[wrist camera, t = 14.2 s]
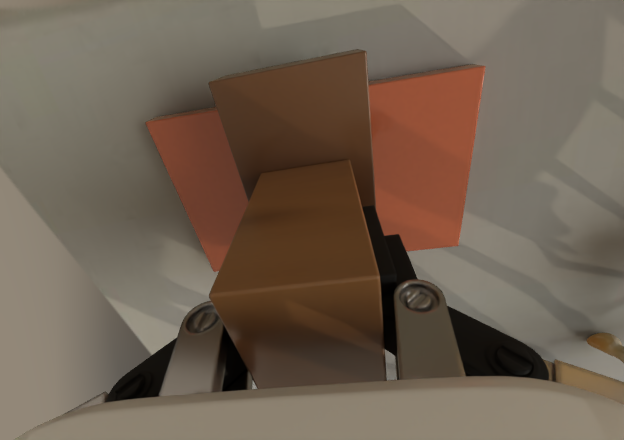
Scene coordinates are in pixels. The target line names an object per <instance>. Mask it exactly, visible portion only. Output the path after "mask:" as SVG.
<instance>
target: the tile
mask: <svg viewBox="0 0 624 440" xmlns="http://www.w3.org/2000/svg"><path fill="white" fill-rule="evenodd" d="M484 73H485V66H482V65H476V64H470V65H464V66H458V67H452V68H446V69H440V70H434V71H428V72H422V73H416V74H410V75H404V76H398V77H392V78H386V79H380V80H374V81H368V84H369V100H370V116H371V133H372V149H373V165H374V181H375V197H376V212H377V215H378V218H379V221H380V224H381V227H382V230H383V233H384V236H387V235H395V234H399V235H400V237H401V240H402V242H403V245H404V247H405V250H406V251H414V250H424V249H433V248H443V247H452V246H458V244H459V237H460V231H461V224H462V218H463V211H464V204H465V198H466V191H467V185H468V178H469V172H470V165H471V159H472V152H473V145H474V139H475V132H476V126H477V119H478V113H479V106H480V99H481V93H482V86H483V80H484ZM146 125H147V127H148V130H149V132H150V134H151V136H152V138H153V140H154V143H155V145H156V147H157V149H158V151H159V154H160V156H161V158H162V160H163V162H164V164H165V167H166V169H167V171H168V173H169V175H170V178H171V180H172V182H173V184H174V186H175V188H176V191H177V193H178V195H179V197H180V199H181V201H182V204H183V206H184V208H185V210H186V212H187V215H188V217H189V219H190V221H191V223H192V225H193V228H194V230H195V232H196V234H197V236H198V238H199V241H200V243H201V245H202V247H203V249H204V252H205V254H206V256H207V258H208V260H209V262H210V265H211V267H212V269H213V271H214V272H216V271H219V270H220V268H221V266H222V263H223V261H224V259H225V256H226V254H227V252H228V249H229V247H230V245H231V242H232V240H233V238H234V235H235V233H236V231H237V228H238V226H239V224H240V221H241V219H242V217H243V214H244V212H245V210H246V207H247V205H248V203H249V202H248V199H247V196H246V193H245V190H244V187H243V185H242V182H241V179H240V176H239V173H238V170H237V167H236V164H235V161H234V158H233V155H232V152H231V149H230V146H229V143H228V140H227V137H226V134H225V131H224V128H223V125H222V122H221V119H220V116H219V113H218V110H217V107H213V108H207V109H201V110H195V111H189V112H183V113H177V114H171V115H165V116H159V117H155V118H153V119H151V120H149V121H147V122H146Z"/></svg>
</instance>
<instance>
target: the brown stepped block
mask: <svg viewBox="0 0 624 440" xmlns="http://www.w3.org/2000/svg"><path fill="white" fill-rule="evenodd" d="M209 87H210V90H211V93H212V96H213V98H214V101H215V104H216V107H217V110H218V113H219V116H220V119H221V122H222V125H223V128H224V131H225V134H226V137H227V140H228V143H229V146H230V149H231V152H232V155H233V158H234V161H235V164H236V167H237V170H238V173H239V176H240V179H241V182H242V185H243V187H244V190H245V193H246V196H247V199H248V202H249V203H248V205H247V207H246V210H245V212H244V214H243V217H242V219H241V221H240V224H239V226H238V228H237V231H236V233H235V235H234V238H233V240H232V242H231V245H230V247H229V249H228V252H227V254H226V256H225V259H224V261H223V263H222V266H221V268H220V270H219V273H218V275H217V277H216V280H215V282H214V284H213V287H212V289H211V291H210V294H209V298H210V300H211V302H212V304H213V305H214V307H215V309H216V311H217V313H218V315H219V317H220V319H221V321H222V322H223V324H224V326H225V328H226V330H227V332H228V334H229V336H230V337H231V339H232V341H233V343H234V345H235V347H236V349H237V351H238V353H239V354H240V356H241V358H242V360H243V362H244V364H245V366H246V368H247V370H248V371H249V373H250V375H251V377H252V379H253V381H254V383H255V385H256V386H257V388H258V389H268V388H282V387H297V386H312V385H327V384H342V383H358V382H374V381H387V377H386V362H385V346H384V330H383V314H382V298H381V282H380V274H379V270H378V267H377V263H376V259H375V255H374V251H373V247H372V243H371V240H370V236H369V232H368V228H367V224H366V220H365V216H364V213H363V209H362V207H364V206H371V205H374V206H375V209H376V197H375V181H374V165H373V149H372V133H371V116H370V100H369V84H368V68H367V53H366V51H363V50H359V49H356V50H351V51H346V52H341V53H336V54H331V55H326V56H321V57H316V58H311V59H306V60H301V61H296V62H291V63H286V64H281V65H276V66H271V67H266V68H261V69H256V70H251V71H246V72H241V73H236V74H232V75H227V76H223V77H221V78H218V79H215V80H213V81H210V82H209Z"/></svg>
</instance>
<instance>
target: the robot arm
mask: <svg viewBox="0 0 624 440" xmlns="http://www.w3.org/2000/svg"><path fill="white" fill-rule="evenodd" d="M362 209H363V213H364V216H365V220H366V224H367V228H368V232H369V236H370V240H371V243H372V247H373V251H374V255H375V259H376V263H377V267H378V270H379V274H380V282H381V298H382V314H383V330H384V346H385V349H386V350H387V351H389V352H390V353H392V354H393V355H395V359H396V374H397V380H390V381H374V382H358V383H342V384H327V385H312V386H297V387H282V388H268V389H253V390H252V381H253V379H252V377H251V375H250V373H249V371H248V370H247V368H246V366H245V364H244V362H243V360H242V358H241V356H240V354H239V353H238V351H237V349H236V347H235V345H234V343H233V341H232V339H231V337H230V336H229V334H228V332H227V330H226V328H225V326H224V324H223V322H222V321H221V319H220V317H219V315H218V313H217V311H216V309H215V307H214V305H213V304H212V302H211V301H207V302H204V303H201V304H200V305H198V306H196V307H194V308H193V309H192V310H191V311H190V312H189V313H188V314H187V315H186V316H185V318H184V320H183V322H182V324H181V327H180V330H179V333H178V337H177V338H176V339H174V340H173V341H171V342H170V343H169V344H167V345H166V346H164V347H163V348H162V349H160V350H159V351H158V352H156V353H155V354H153V355H152V356H151V357H149V358H148V359H146V360H145V361H144V362H142V363H141V364H139V365H138V366H137V367H135V368H134V369H132V370H131V371H130V372H128V373H127V374H126V375H125V376H123V377H122V378H121V379H120V380H119V381H118V382H117V383H116V385H115V386H114V387H113V388H112V390H111V392H110V393H109V394H108V393H107V392H103V393H102V394H100V395H98V396H96V397H94V398H92V399H90V400H89V401H87V402H85V403H83V404H81V405H79V406H78V407H76V408H74V409H72V410H70V411H68V412H67V413H65V414H63V415H61V416H58V417H56V418H54V419H52V420H49V421H47V422H45V423H43V424H41V425H38V426H37V427H35V428H33V429H31V430H29V431H27V432H26V433H24V434H23V435H21V436H19V437H18V438H16V439H15V440H624V382H622V381H619V380H616V379H613V378H610V377H607V376H604V375H601V374H598V373H595V372H592V371H589V370H586V369H583V368H580V367H577V366H574V365H571V364H568V363H565V362H562V361H559V360H556V359H555V361H554V363H552V362H549V361H546V360H543V359H542V358H541V356H540V355H539V354H537V353H536V352H535V351H534V350H533V349H532V348H530V347H529V346H527V345H525V344H524V343H522V342H520V341H518V340H516V339H514V338H512V337H510V336H508V335H506V334H504V333H502V332H500V331H498V330H496V329H494V328H492V327H490V326H488V325H486V324H483V323H481V322H479V321H477V320H475V319H473V318H471V317H469V316H467V315H465V314H463V313H461V312H459V311H457V310H455V309H453V308H451V307H449V306H447V304H446V300H445V297H444V295H443V293H442V291H441V290H440V289H439V288H438V287H437V286H435V285H434V284H432V283H430V282H427V281H424V280H418V279H417V277H416V274H415V272H414V269H413V267H412V264H411V262H410V259H409V257H408V255H407V252H406V250H405V247H404V245H403V242H402V240H401V237H400V235H399V234H395V235H387V236H384V233H383V230H382V227H381V224H380V221H379V218H378V215H377V212H376V209H375V206H374V205H371V206H364V207H362Z"/></svg>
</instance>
